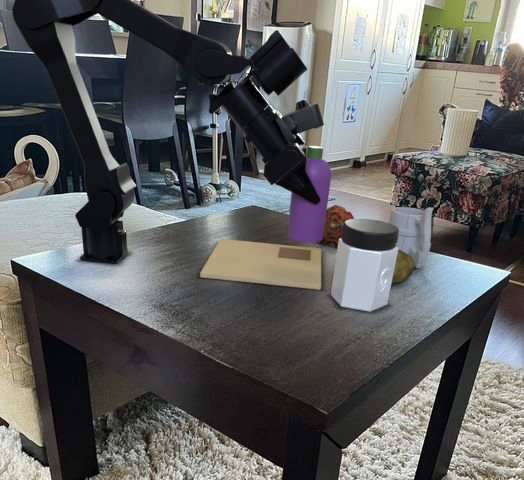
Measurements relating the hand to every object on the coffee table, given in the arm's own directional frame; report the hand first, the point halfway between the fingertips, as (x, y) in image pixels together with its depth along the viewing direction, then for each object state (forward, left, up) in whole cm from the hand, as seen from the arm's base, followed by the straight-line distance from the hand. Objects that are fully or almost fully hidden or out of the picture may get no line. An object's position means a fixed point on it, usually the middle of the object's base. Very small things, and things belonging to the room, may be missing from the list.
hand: (318, 198), depth 86 cm
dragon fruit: (+4, +21, -14) cm, 25 cm away
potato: (+12, +1, -14) cm, 18 cm away
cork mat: (-8, +4, -13) cm, 16 cm away
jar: (+8, -9, -14) cm, 18 cm away
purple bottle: (-1, 0, -7) cm, 7 cm away
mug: (+18, +11, -14) cm, 25 cm away
